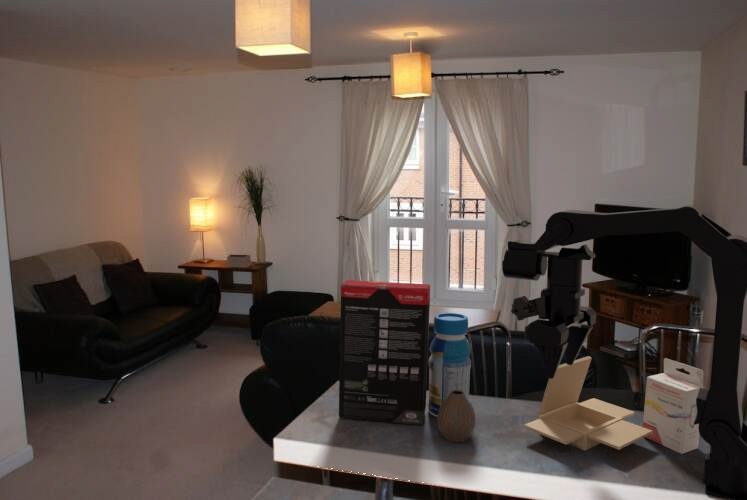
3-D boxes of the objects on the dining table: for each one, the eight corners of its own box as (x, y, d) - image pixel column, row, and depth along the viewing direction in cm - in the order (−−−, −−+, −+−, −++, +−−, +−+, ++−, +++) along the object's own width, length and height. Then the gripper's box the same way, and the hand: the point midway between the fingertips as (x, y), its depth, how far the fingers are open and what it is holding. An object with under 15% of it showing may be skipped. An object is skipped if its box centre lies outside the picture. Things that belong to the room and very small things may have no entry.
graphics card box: (427, 413, 128) (430, 280, 124) (425, 427, 121) (429, 287, 117) (344, 407, 130) (345, 277, 127) (337, 421, 124) (338, 284, 120)
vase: (464, 449, 112) (465, 402, 111) (430, 439, 116) (431, 393, 115) (481, 436, 118) (482, 390, 117) (448, 426, 122) (449, 382, 120)
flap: (577, 401, 127) (591, 357, 123) (541, 415, 119) (555, 369, 116) (574, 399, 127) (588, 356, 124) (538, 413, 120) (552, 367, 117)
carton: (666, 437, 118) (667, 422, 118) (599, 472, 104) (600, 455, 104) (590, 410, 130) (591, 396, 130) (521, 438, 117) (521, 422, 116)
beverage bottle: (461, 424, 123) (464, 323, 120) (420, 415, 127) (423, 318, 124) (474, 409, 130) (478, 314, 128) (436, 402, 134) (439, 309, 131)
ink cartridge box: (640, 436, 118) (646, 360, 116) (657, 431, 121) (663, 356, 119) (682, 455, 111) (689, 374, 109) (699, 449, 114) (706, 369, 111)
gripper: (540, 271, 121) (537, 350, 123) (496, 286, 106) (494, 375, 108) (599, 277, 115) (594, 361, 117) (561, 294, 100) (557, 389, 102)
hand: (560, 371), depth 111 cm, fingers open, 9 cm apart
